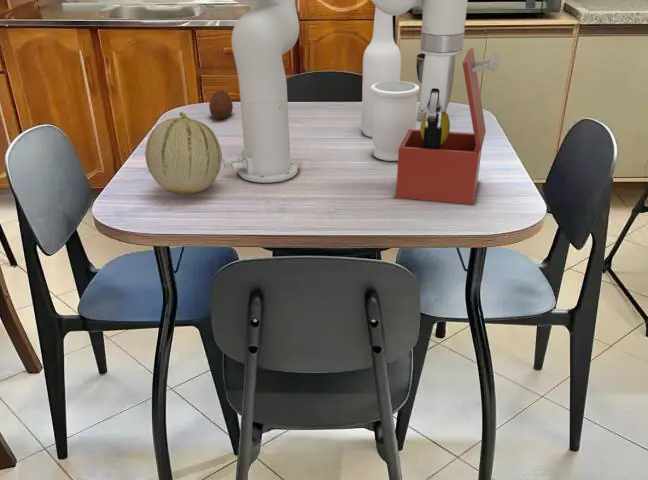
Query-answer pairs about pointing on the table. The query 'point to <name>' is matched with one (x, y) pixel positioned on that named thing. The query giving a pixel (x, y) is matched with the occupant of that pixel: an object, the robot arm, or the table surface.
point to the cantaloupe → (183, 155)
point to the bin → (438, 168)
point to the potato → (220, 104)
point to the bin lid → (477, 91)
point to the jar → (392, 116)
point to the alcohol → (379, 63)
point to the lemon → (444, 125)
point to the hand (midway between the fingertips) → (433, 142)
